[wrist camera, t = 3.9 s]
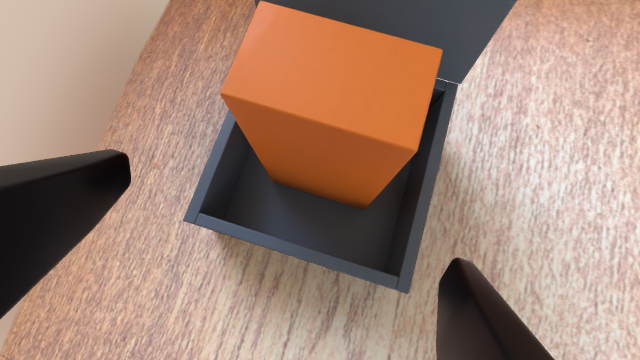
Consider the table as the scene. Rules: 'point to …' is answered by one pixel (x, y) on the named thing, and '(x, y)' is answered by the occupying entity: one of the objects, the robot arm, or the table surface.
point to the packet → (329, 102)
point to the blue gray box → (325, 206)
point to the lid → (421, 24)
